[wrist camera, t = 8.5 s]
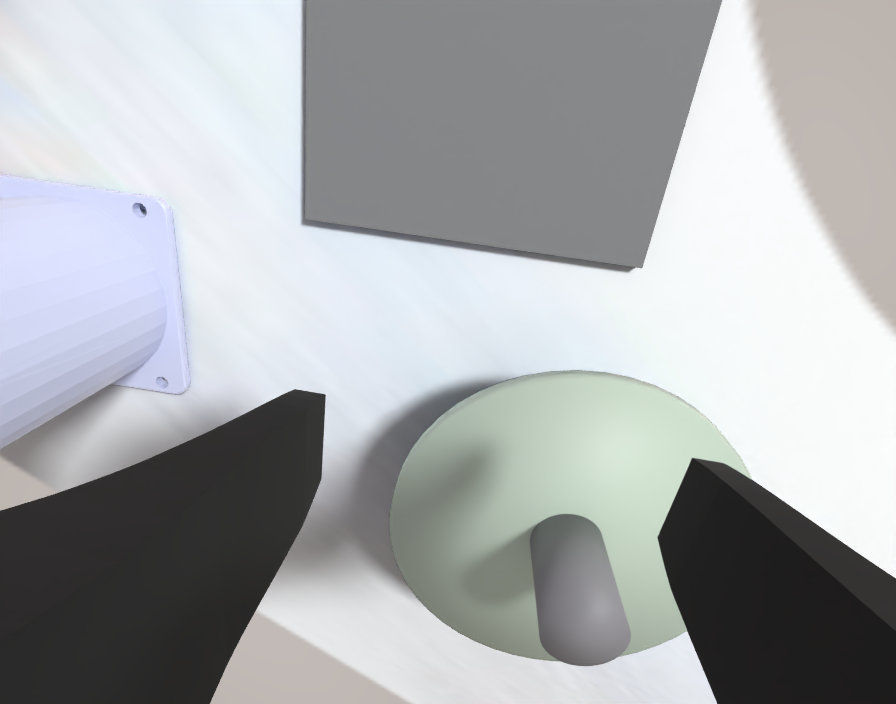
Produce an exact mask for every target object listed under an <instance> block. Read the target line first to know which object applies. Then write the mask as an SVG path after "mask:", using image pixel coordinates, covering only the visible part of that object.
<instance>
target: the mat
mask: <svg viewBox="0 0 896 704" xmlns="http://www.w3.org/2000/svg"><path fill="white" fill-rule="evenodd" d="M721 2H722V0H306V134H305V219H307V220H314V221H321V222H328V223H335V224H342V225H348V226H355V227H362V228H369V229H376V230H383V231H390V232H397V233H403V234H410V235H417V236H424V237H431V238H438V239H445V240H452V241H458V242H465V243H472V244H479V245H486V246H493V247H500V248H507V249H513V250H520V251H527V252H534V253H541V254H548V255H555V256H562V257H568V258H575V259H582V260H589V261H596V262H603V263H610V264H616V265H623V266H630V267H637V268H642V267H643V264H644V260H645V257H646V254H647V250H648V247H649V244H650V240H651V237H652V234H653V230H654V227H655V223H656V220H657V217H658V213H659V210H660V207H661V203H662V200H663V197H664V193H665V190H666V187H667V183H668V180H669V177H670V173H671V170H672V167H673V163H674V160H675V156H676V153H677V150H678V146H679V143H680V140H681V136H682V133H683V130H684V126H685V123H686V120H687V116H688V113H689V110H690V106H691V103H692V100H693V96H694V93H695V90H696V86H697V83H698V79H699V76H700V73H701V69H702V66H703V63H704V59H705V56H706V53H707V49H708V46H709V43H710V39H711V36H712V33H713V29H714V26H715V23H716V19H717V16H718V13H719V9H720V6H721Z"/></svg>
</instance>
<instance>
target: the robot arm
mask: <svg viewBox="0 0 896 704" xmlns="http://www.w3.org/2000/svg"><path fill="white" fill-rule="evenodd" d="M140 204H143V206H144V207H145V208H146V211H147V212H146V216H145V215H144V214H143V213H142V212H141V210H140ZM162 377H163V378H165V379H166V380H167V382H168V383H165V382H164V381H163V379H162ZM110 384H114V385H120V386H127V387H133V388H140V389H146V390H152V391H159V392H165V393H171V394H181V393H183V392H184V391H186V390H187V389H188V388H189V386H190V376H189V367H188V357H187V347H186V338H185V328H184V319H183V309H182V299H181V290H180V280H179V270H178V261H177V251H176V242H175V232H174V222H173V213H172V210H171V207H170V205H169V204H168V203H167V202H166V201H165V200H164V199H162V198H159V197H154V196H147V195H140V194H133V193H127V192H120V191H113V190H106V189H99V188H92V187H85V186H78V185H72V184H65V183H58V182H51V181H44V180H37V179H30V178H23V177H17V176H10V175H3V174H0V449H2V448H4V447H5V446H7V445H9V444H11V443H12V442H14V441H16V440H17V439H19V438H21V437H22V436H24V435H26V434H27V433H29V432H31V431H32V430H34V429H36V428H37V427H39V426H41V425H42V424H44V423H46V422H47V421H49V420H51V419H53V418H54V417H56V416H58V415H59V414H61V413H63V412H64V411H66V410H68V409H69V408H71V407H73V406H74V405H76V404H78V403H79V402H81V401H83V400H84V399H86V398H88V397H89V396H91V395H93V394H94V393H96V392H98V391H100V390H101V389H103V388H105V387H106V386H108V385H110ZM325 397H326V395H325V394H319V393H314V392H308V391H302V390H296V389H295V390H292V391H290V392H288V393H285V394H283V395H281V396H279V397H277V398H275V399H273V400H271V401H269V402H267V403H265V404H263V405H261V406H259V407H257V408H255V409H253V410H251V411H249V412H248V413H246V414H244V415H242V416H240V417H238V418H236V419H234V420H232V421H230V422H228V423H226V424H224V425H221V426H219V427H217V428H215V429H213V430H211V431H209V432H207V433H205V434H203V435H201V436H199V437H196V438H194V439H192V440H190V441H187V442H185V443H183V444H181V445H179V446H176V447H174V448H172V449H170V450H167V451H165V452H163V453H161V454H159V455H156V456H154V457H152V458H150V459H147V460H145V461H142V462H140V463H138V464H135V465H133V466H130V467H128V468H125V469H123V470H120V471H117V472H115V473H112V474H110V475H107V476H104V477H101V478H99V479H96V480H93V481H90V482H88V483H85V484H82V485H79V486H77V487H74V488H71V489H68V490H65V491H62V492H59V493H57V494H54V495H51V496H47V497H44V498H41V499H38V500H35V501H31V502H28V503H25V504H21V505H18V506H15V507H12V508H8V509H5V510H2V511H0V704H210V702H211V699H212V697H213V695H214V693H215V691H216V688H217V686H218V684H219V682H220V679H221V677H222V675H223V673H224V670H225V668H226V666H227V664H228V662H229V660H230V658H231V656H232V654H233V651H234V649H235V648H236V646H237V644H238V642H239V640H240V638H241V636H242V634H243V633H244V630H245V629H246V627H247V625H248V623H249V622H250V620H251V618H252V616H253V614H254V613H255V611H256V609H257V607H258V605H259V604H260V602H261V600H262V598H263V596H264V595H265V593H266V591H267V589H268V587H269V586H270V584H271V582H272V580H273V578H274V577H275V575H276V573H277V571H278V569H279V568H280V566H281V564H282V562H283V560H284V559H285V557H286V555H287V553H288V551H289V549H290V548H291V546H292V544H293V542H294V540H295V539H296V537H297V535H298V533H299V531H300V529H301V527H302V525H303V523H304V521H305V519H306V516H307V514H308V511H309V509H310V506H311V504H312V502H313V499H314V496H315V494H316V491H317V489H318V486H319V483H320V481H321V475H322V455H323V436H324V416H325ZM657 538H658V542H659V547H660V551H661V555H662V559H663V563H664V567H665V571H666V574H667V578H668V581H669V585H670V588H671V591H672V594H673V596H674V599H675V601H676V604H677V606H678V609H679V611H680V614H681V616H682V619H683V621H684V624H685V626H686V629H687V631H688V634H689V636H690V638H691V641H692V643H693V646H694V648H695V651H696V653H697V655H698V658H699V660H700V663H701V665H702V667H703V670H704V672H705V675H706V677H707V680H708V682H709V684H710V687H711V689H712V692H713V694H714V696H715V699H716V701H717V704H896V578H894V577H893V576H891V575H890V574H888V573H887V572H885V571H884V570H882V569H881V568H879V567H878V566H876V565H875V564H873V563H872V562H870V561H869V560H867V559H866V558H864V557H863V556H861V555H860V554H858V553H857V552H855V551H854V550H852V549H851V548H850V547H848V546H847V545H845V544H844V543H842V542H841V541H839V540H838V539H837V538H835V537H834V536H832V535H831V534H829V533H828V532H826V531H825V530H824V529H822V528H821V527H819V526H818V525H816V524H815V523H814V522H812V521H811V520H809V519H808V518H806V517H805V516H804V515H802V514H801V513H799V512H798V511H796V510H795V509H794V508H792V507H791V506H789V505H788V504H786V503H785V502H784V501H782V500H781V499H779V498H778V497H776V496H775V495H774V494H772V493H771V492H769V491H768V490H766V489H765V488H763V487H762V486H760V485H759V484H757V483H756V482H754V481H753V480H751V479H750V478H748V477H747V476H745V475H744V474H742V473H740V472H739V471H737V470H735V469H734V468H732V467H730V466H728V465H726V464H725V463H721V462H715V461H709V460H703V459H697V458H692V459H691V462H690V464H689V466H688V468H687V471H686V473H685V475H684V478H683V480H682V482H681V484H680V487H679V489H678V491H677V494H676V496H675V498H674V500H673V503H672V505H671V507H670V510H669V512H668V514H667V516H666V519H665V521H664V523H663V526H662V528H661V530H660V533H659V535H658V537H657Z"/></svg>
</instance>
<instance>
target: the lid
mask: <svg viewBox="0 0 896 704" xmlns="http://www.w3.org/2000/svg"><path fill="white" fill-rule="evenodd" d="M692 458H697V459H703V460H709V461H715V462H721V463H725V464H726V465H728V466H730V467H732V468H734V469H735V470H737V471H739V472H740V473H742V474H744V475H745V476H747V477H748V478H750V479H751V476H750V474H749V472H748V470H747V468H746V466H745V464H744V463H743V461H742V459H741V457H740V456H739V454H738V453H737V452H736V451H735V449H734V448H733V447H732V446H731V444H730V443H729V442H728V441H727V439H726V438H725V437H724V436H723V435H722V433H721V432H720V431H719V430H718V429H717V427H716V426H715V425H714V424H713V423H712V422H711V421H710V420H708V419H707V418H706V417H705V416H704V415H703V414H702V413H701V412H700V411H698V410H697V409H696V408H694V407H693V406H691V405H690V404H688V403H687V402H685V401H684V400H682V399H681V398H679V397H678V396H676V395H674V394H672V393H670V392H668V391H666V390H663V389H661V388H659V387H657V386H655V385H652V384H649V383H646V382H643V381H640V380H637V379H634V378H631V377H626V376H621V375H616V374H611V373H606V372H595V371H582V370H572V371H550V372H544V373H538V374H531V375H525V376H522V377H518V378H514V379H511V380H507V381H504V382H500V383H498V384H496V385H493V386H491V387H488V388H486V389H483V390H481V391H479V392H477V393H475V394H473V395H471V396H470V397H468V398H466V399H464V400H463V401H461V402H459V403H457V404H456V405H455V406H453V407H452V408H451V409H449V410H448V411H447V412H445V413H444V414H443V415H441V416H440V417H439V418H438V419H437V420H436V421H435V422H434V423H433V424H432V425H431V426H430V427H429V428H428V429H427V430H426V431H425V432H424V433H423V434H422V435H421V437H420V438H419V439H418V441H417V442H416V443H415V445H414V446H413V448H412V449H411V451H410V453H409V455H408V456H407V458H406V460H405V462H404V464H403V466H402V469H401V472H400V474H399V477H398V480H397V483H396V487H395V490H394V494H393V497H392V503H391V509H390V515H389V534H390V540H391V545H392V551H393V554H394V557H395V560H396V563H397V566H398V568H399V570H400V572H401V574H402V576H403V578H404V580H405V582H406V583H407V585H408V586H409V587H410V589H411V590H412V592H413V593H414V594H415V596H416V597H417V598H418V599H419V600H420V601H421V603H422V604H423V605H424V606H425V607H426V608H427V609H428V610H429V611H430V612H431V613H433V614H434V615H435V616H436V617H437V618H438V619H440V620H441V621H442V622H443V623H445V624H446V625H448V626H449V627H451V628H452V629H454V630H455V631H457V632H458V633H460V634H462V635H464V636H466V637H468V638H470V639H472V640H474V641H476V642H478V643H480V644H483V645H485V646H488V647H490V648H493V649H496V650H499V651H502V652H506V653H509V654H512V655H517V656H522V657H527V658H532V659H540V660H549V661H562V662H564V663H567V664H571V665H577V666H593V665H599V664H604V663H606V662H609V661H611V660H614V659H615V658H617V657H620V656H624V655H628V654H633V653H637V652H640V651H643V650H646V649H649V648H652V647H655V646H657V645H660V644H662V643H664V642H666V641H668V640H671V639H673V638H675V637H677V636H679V635H680V634H682V633H684V632H686V631H687V629H686V626H685V624H684V621H683V619H682V616H681V614H680V611H679V609H678V606H677V604H676V601H675V599H674V596H673V594H672V591H671V588H670V585H669V581H668V578H667V574H666V571H665V567H664V563H663V559H662V555H661V551H660V547H659V542H658V538H657V537H658V535H659V533H660V530H661V528H662V526H663V523H664V521H665V519H666V516H667V514H668V512H669V510H670V507H671V505H672V503H673V500H674V498H675V496H676V494H677V491H678V489H679V487H680V484H681V482H682V480H683V478H684V475H685V473H686V471H687V468H688V466H689V464H690V462H691V459H692ZM751 480H752V479H751Z"/></svg>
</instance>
